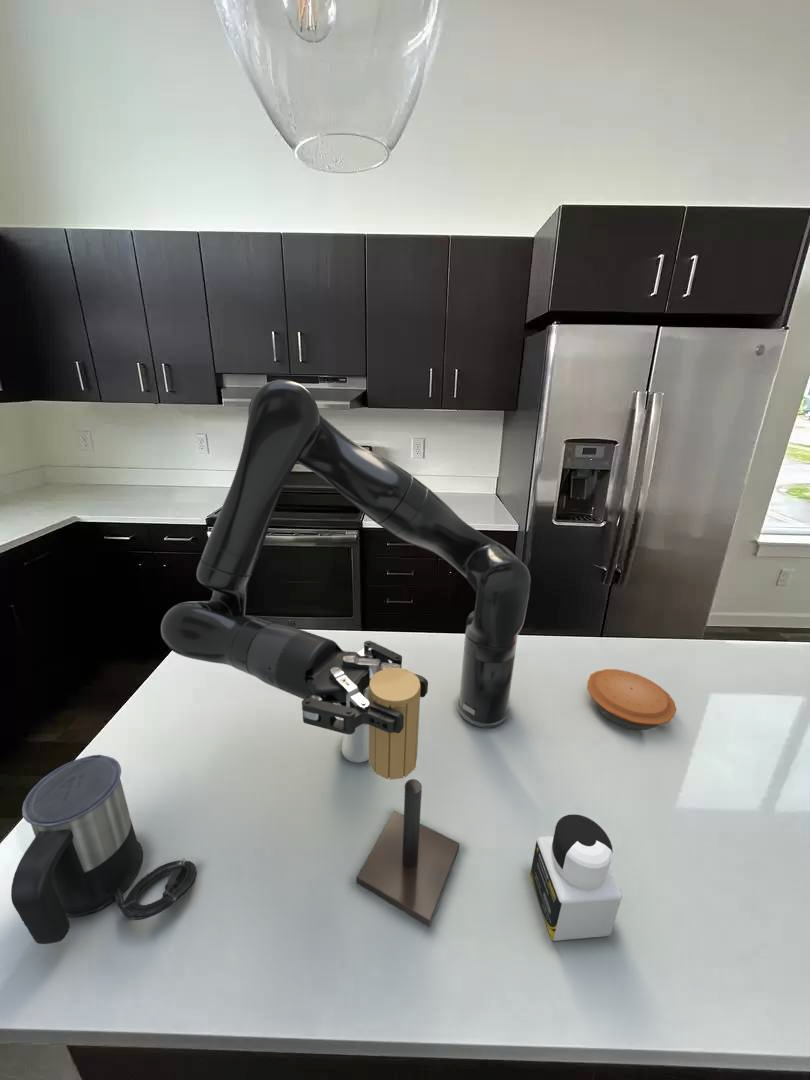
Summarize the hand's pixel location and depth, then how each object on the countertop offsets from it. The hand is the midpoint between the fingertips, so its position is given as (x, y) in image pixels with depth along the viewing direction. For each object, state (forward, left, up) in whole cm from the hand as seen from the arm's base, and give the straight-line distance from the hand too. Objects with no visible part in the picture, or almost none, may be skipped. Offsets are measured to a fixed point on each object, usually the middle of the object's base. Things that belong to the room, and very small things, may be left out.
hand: (414, 705), depth 47 cm
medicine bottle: (-5, +19, -26) cm, 33 cm away
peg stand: (0, 0, -26) cm, 26 cm away
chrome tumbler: (-13, -16, -26) cm, 33 cm away
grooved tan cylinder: (0, -3, -9) cm, 9 cm away
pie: (-46, +25, -26) cm, 59 cm away
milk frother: (+18, -30, -26) cm, 43 cm away
